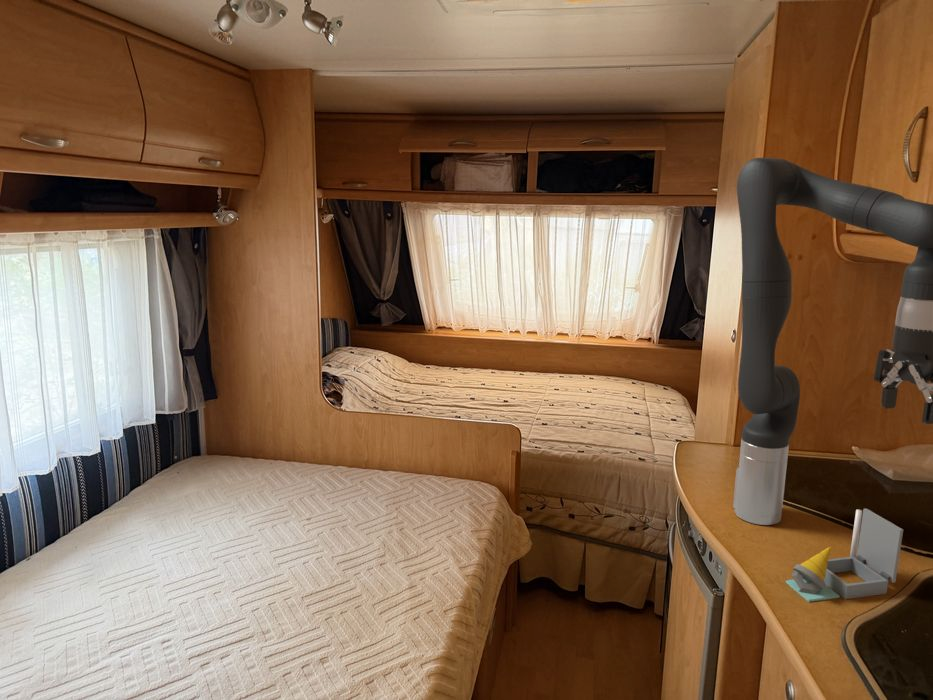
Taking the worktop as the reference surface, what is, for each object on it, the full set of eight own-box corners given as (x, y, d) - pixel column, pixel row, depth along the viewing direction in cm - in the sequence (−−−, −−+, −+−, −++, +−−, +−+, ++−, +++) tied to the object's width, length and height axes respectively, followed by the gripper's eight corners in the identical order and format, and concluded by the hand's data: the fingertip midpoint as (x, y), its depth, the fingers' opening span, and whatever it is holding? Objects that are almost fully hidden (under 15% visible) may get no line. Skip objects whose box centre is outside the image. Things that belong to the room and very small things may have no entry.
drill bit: (781, 582, 119) (813, 538, 120) (809, 603, 116) (841, 558, 118) (786, 579, 114) (819, 534, 116) (816, 601, 112) (849, 554, 113)
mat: (785, 582, 119) (785, 580, 119) (815, 578, 120) (815, 576, 120) (808, 601, 113) (808, 599, 113) (839, 597, 114) (839, 595, 114)
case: (804, 567, 123) (811, 508, 121) (852, 561, 125) (860, 503, 123) (845, 599, 114) (853, 535, 111) (896, 592, 115) (906, 529, 113)
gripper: (869, 318, 118) (858, 404, 122) (939, 333, 105) (924, 430, 108) (905, 316, 120) (893, 402, 123) (978, 331, 106) (962, 427, 110)
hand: (907, 415), depth 116 cm, fingers open, 8 cm apart
